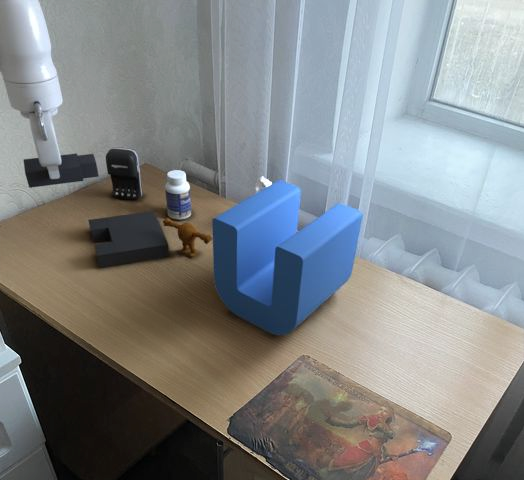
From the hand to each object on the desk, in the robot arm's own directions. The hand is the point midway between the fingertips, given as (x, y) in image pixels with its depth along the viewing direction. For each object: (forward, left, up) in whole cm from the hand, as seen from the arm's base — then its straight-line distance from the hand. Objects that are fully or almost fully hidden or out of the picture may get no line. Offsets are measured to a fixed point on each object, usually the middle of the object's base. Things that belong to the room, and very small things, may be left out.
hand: (53, 168), depth 103 cm
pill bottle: (+24, +3, -15) cm, 29 cm away
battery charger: (+14, +14, -15) cm, 25 cm away
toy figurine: (+22, -13, -15) cm, 30 cm away
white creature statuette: (+39, -8, -15) cm, 43 cm away
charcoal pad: (+1, 0, -2) cm, 2 cm away
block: (+35, -33, -15) cm, 51 cm away
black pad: (+11, -6, -15) cm, 20 cm away
